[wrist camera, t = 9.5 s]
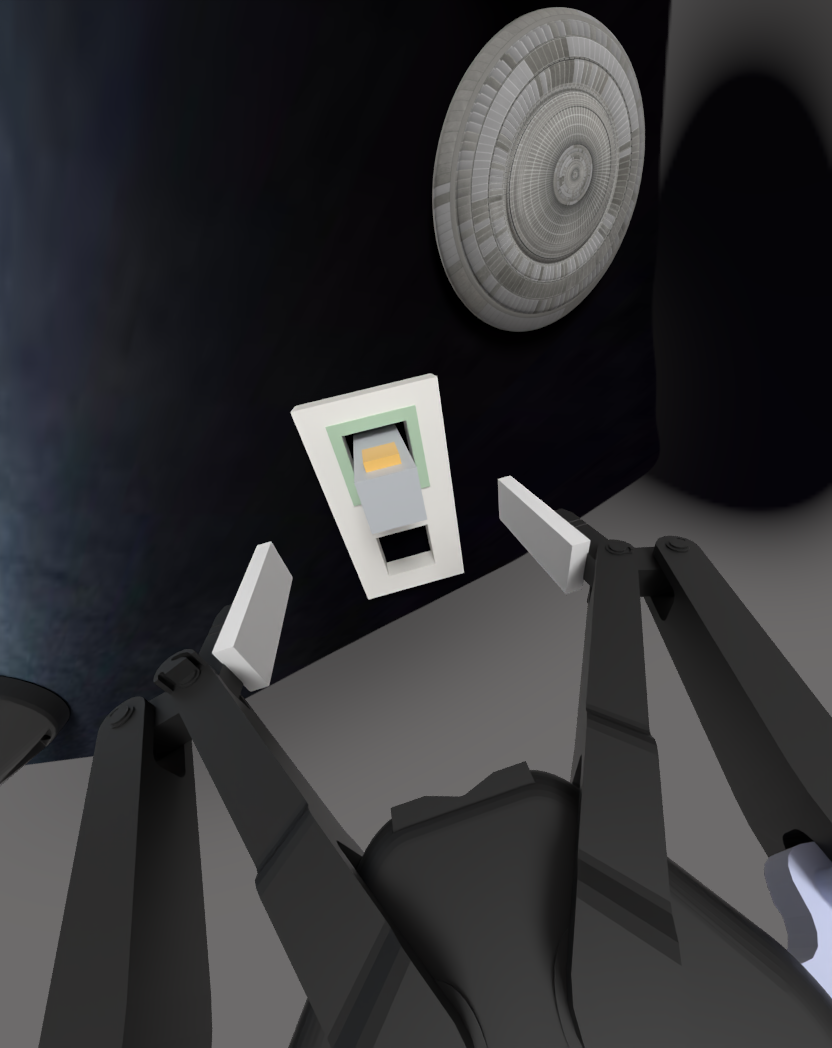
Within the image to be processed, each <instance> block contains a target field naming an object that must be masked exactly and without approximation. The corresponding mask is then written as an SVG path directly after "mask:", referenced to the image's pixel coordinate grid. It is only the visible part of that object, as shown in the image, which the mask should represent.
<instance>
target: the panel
mask: <svg viewBox="0 0 832 1048" xmlns="http://www.w3.org/2000/svg"><path fill="white" fill-rule="evenodd" d="M291 415H292V417H293V420H294V422H295V424H296V427H297V429H298V432H299V434H300V436H301V439H302V441H303V444H304V446H305V449H306V451H307V453H308V456H309V458H310V461H311V463H312V465H313V468H314V470H315V473H316V475H317V477H318V480H319V482H320V485H321V487H322V489H323V492H324V494H325V497H326V499H327V501H328V504H329V506H330V509H331V511H332V513H333V516H334V518H335V521H336V523H337V525H338V528H339V530H340V533H341V535H342V537H343V540H344V542H345V545H346V547H347V549H348V552H349V554H350V557H351V559H352V561H353V564H354V566H355V569H356V571H357V573H358V576H359V578H360V581H361V583H362V585H363V588H364V590H365V593H366V595H367V597H368V600H369V599H372V598H376V597H379V596H383V595H386V594H390V593H394V592H397V591H401V590H404V589H408V588H411V587H415V586H419V585H422V584H426V583H429V582H433V581H436V580H440V579H444V578H447V577H451V576H454V575H458V574H461V573H464V569H463V561H462V554H461V547H460V540H459V532H458V525H457V518H456V510H455V503H454V496H453V488H452V481H451V474H450V467H449V459H448V452H447V445H446V437H445V430H444V423H443V415H442V408H441V401H440V394H439V386H438V379H437V376H435V375H433V374H426V375H422V376H418V377H413V378H409V379H405V380H401V381H397V382H393V383H389V384H385V385H380V386H376V387H372V388H368V389H364V390H360V391H356V392H352V393H347V394H343V395H339V396H335V397H331V398H327V399H323V400H319V401H314V402H310V403H306V404H302V405H298V406H295V407H294V408H293V410H292V411H291ZM402 421H403V423H404V427H405V432H406V437H407V442H408V446H409V451H410V455H411V457H412V459H413V461H414V463H415V465H416V467H417V471H418V476H419V481H420V486H421V491H422V496H423V501H424V506H425V510H426V515H427V520H424V521H420V522H416V523H413V524H409V525H405V526H401V527H398V528H394V529H390V530H386V531H383V532H379V533H375V534H372V533H371V530H370V527H369V525H368V522H367V519H366V516H365V513H364V510H363V507H362V504H361V501H360V498H359V495H358V493H357V490H356V487H355V484H354V462H353V459H352V456H351V453H350V450H349V447H348V444H347V441H346V438H345V436H346V435H350V434H354V433H358V432H362V431H366V430H370V429H374V428H378V427H382V426H386V425H390V424H394V423H398V422H402ZM424 525H425V526H426V531H427V536H428V541H429V545H430V550H431V551H427V552H424V553H420V554H416V555H413V556H409V557H405V558H402V559H398V560H394V561H391V562H386V559H385V556H384V553H383V550H382V547H381V544H380V541H379V537H383V536H386V535H390V534H394V533H398V532H401V531H405V530H409V529H412V528H416V527H420V526H424Z"/></svg>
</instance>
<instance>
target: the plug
mask: <svg viewBox="0 0 832 1048" xmlns="http://www.w3.org/2000/svg"><path fill="white" fill-rule="evenodd" d="M353 448H354V484H355V487H356V490H357V493H358V495H359V498H360V501H361V504H362V507H363V510H364V513H365V516H366V519H367V522H368V525H369V527H370V530H371V533H372V534H375V533H379V532H383V531H386V530H390V529H394V528H398V527H401V526H405V525H409V524H413V523H416V522H420V521H424V520H427V515H426V510H425V506H424V501H423V496H422V491H421V486H420V481H419V476H418V471H417V467H416V465H415V463H414V461H413V459H412V457H411V455H410V453H409V451H408V449H407V447H406V445H405V443H404V441H403V439H402V437H401V436H400V434H399V432H398V430H397V428H396V426H395V424H394V425H390V426H386V427H382V428H378V429H374V430H370V431H366V432H362V433H358V434H354V435H353Z"/></svg>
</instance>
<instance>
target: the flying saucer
mask: <svg viewBox="0 0 832 1048" xmlns="http://www.w3.org/2000/svg"><path fill="white" fill-rule="evenodd" d="M644 149H645V125H644V113H643V105H642V99H641V94H640V89H639V86H638V82H637V79H636V76H635V73H634V70H633V67H632V65H631V63H630V60H629V58H628V56H627V54H626V53H625V51H624V49H623V47H622V46H621V44H620V43H619V42H618V40H617V39H616V37H615V36H614V35H613V34H612V33H611V32H610V31H609V30H608V29H607V28H606V27H605V26H604V25H603V24H602V23H601V22H599V21H598V20H597V19H595V18H593V17H592V16H590V15H588V14H586V13H584V12H582V11H579V10H575V9H571V8H562V7H554V8H545V9H539V10H536V11H533V12H530V13H527V14H525V15H523V16H521V17H519V18H517V19H516V20H514V21H512V22H511V23H509V24H508V25H506V26H505V27H504V28H503V29H501V30H500V31H499V32H498V33H497V34H496V35H495V36H494V37H493V38H492V39H491V40H490V41H489V42H488V43H487V44H486V45H485V46H484V47H483V49H482V50H481V51H480V52H479V54H478V55H477V56H476V58H475V59H474V61H473V62H472V64H471V65H470V66H469V68H468V70H467V71H466V73H465V75H464V76H463V78H462V80H461V82H460V84H459V86H458V88H457V90H456V92H455V94H454V97H453V99H452V101H451V104H450V106H449V109H448V112H447V115H446V118H445V121H444V124H443V127H442V131H441V135H440V139H439V143H438V148H437V153H436V159H435V166H434V175H433V190H432V205H433V221H434V230H435V236H436V242H437V246H438V251H439V254H440V258H441V261H442V264H443V267H444V270H445V272H446V275H447V277H448V279H449V281H450V283H451V285H452V287H453V289H454V290H455V292H456V294H457V295H458V297H459V298H460V299H461V301H462V302H463V303H464V305H465V306H466V307H467V308H468V309H469V310H470V311H471V312H472V313H473V314H474V315H475V316H477V317H478V318H479V319H481V320H482V321H484V322H485V323H487V324H489V325H491V326H493V327H496V328H499V329H502V330H506V331H514V332H523V331H531V330H535V329H539V328H542V327H545V326H547V325H550V324H552V323H554V322H555V321H557V320H559V319H561V318H562V317H564V316H565V315H567V314H568V313H569V312H570V311H572V310H573V309H574V308H575V307H576V306H578V305H579V304H580V303H581V302H582V301H583V300H584V299H585V298H586V297H587V295H588V294H589V293H590V292H591V291H592V290H593V288H594V287H595V286H596V285H597V283H598V282H599V281H600V279H601V278H602V276H603V275H604V273H605V272H606V270H607V269H608V267H609V265H610V264H611V262H612V260H613V259H614V257H615V255H616V253H617V251H618V249H619V247H620V245H621V243H622V240H623V238H624V236H625V233H626V231H627V228H628V226H629V223H630V220H631V217H632V214H633V211H634V208H635V204H636V200H637V196H638V192H639V187H640V182H641V176H642V170H643V162H644Z"/></svg>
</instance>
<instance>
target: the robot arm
mask: <svg viewBox="0 0 832 1048" xmlns="http://www.w3.org/2000/svg"><path fill="white" fill-rule="evenodd" d="M498 495H499V519H500V520H501V521H502V522H503V523H504V524H505V525H506V527H507V528H508V529H509V530H510V531H511V532H512V533H513V534H514V536H515V537H516V538H517V539H518V540H519V541H520V542H521V544H522V545H523V546H524V547H525V548H526V549H527V550H528V552H529V553H530V554H531V555H532V556H533V557H534V558H535V560H536V561H537V562H538V563H539V564H540V565H541V566H542V568H543V569H544V570H545V571H546V572H547V573H548V574H549V576H550V577H551V578H552V579H553V580H554V581H555V582H556V584H557V585H558V586H559V587H560V588H561V589H562V590H563V591H564V593H565V594H568V593H571V592H574V591H577V590H581V589H582V586H583V580H585V581H586V582H587V583H588V584H589V585H590V589H589V594H588V599H587V603H588V608H587V609H588V610H587V620H586V630H585V641H584V652H583V663H582V674H581V685H580V697H579V707H578V718H577V728H576V740H575V750H574V756H573V763H572V770H571V780H570V782H568V781H566V780H565V779H562V778H560V777H558V776H556V775H554V774H550V773H547V772H543V771H538V770H529V768H528V765H527V763H526V761H525V762H522V763H519V764H516V765H514V766H511V767H507V768H505V769H502V770H499V771H496V772H493V773H492V774H491V775H490V776H488V777H487V778H486V779H485V780H483V781H482V782H481V783H479V784H478V785H477V786H476V787H474V788H473V789H472V790H470V791H469V792H468V793H467V794H466V795H463V796H460V797H449V796H445V797H444V796H424V797H421V798H418V799H415V800H412V801H410V802H407V803H404V804H401V805H398V806H395V807H392V808H391V815H392V819H391V820H389V821H388V822H387V823H386V824H385V825H384V826H383V827H382V828H381V829H380V830H379V831H378V833H377V834H376V835H375V836H374V838H373V839H372V841H371V842H370V844H369V845H368V847H367V849H366V850H365V852H363V851H362V850H361V848H360V847H359V846H358V845H357V844H356V842H355V841H354V840H353V839H352V838H351V837H350V836H349V835H348V834H347V833H346V832H345V831H344V829H343V828H342V827H341V825H340V824H339V823H338V822H337V820H336V819H335V817H334V816H333V815H332V814H331V812H330V811H329V810H328V808H327V807H326V806H325V804H324V803H323V802H322V800H321V799H320V798H319V796H318V795H317V794H316V792H315V791H314V790H313V788H312V787H311V786H310V785H309V783H308V782H307V780H306V779H305V778H304V777H303V775H302V774H301V773H300V771H299V770H298V769H297V767H296V766H295V765H294V763H293V762H292V761H291V759H290V758H289V757H288V755H287V754H286V753H285V751H284V750H283V749H282V748H281V746H280V745H279V743H278V742H277V741H276V740H275V738H274V737H273V736H272V734H271V733H270V732H269V730H268V729H267V728H266V726H265V725H264V724H263V722H262V721H261V720H260V719H259V717H258V716H257V714H256V713H255V712H254V710H253V709H252V708H251V706H250V705H249V704H248V702H247V701H246V700H245V699H244V697H243V696H242V695H240V693H241V689H242V686H243V685H244V686H245V687H246V688H247V689H248V690H249V691H250V692H251V691H254V690H257V689H260V688H264V687H267V686H269V684H270V679H271V675H272V670H273V665H274V661H275V656H276V652H277V647H278V642H279V638H280V633H281V629H282V624H283V619H284V615H285V610H286V605H287V601H288V596H289V592H290V587H291V582H292V578H293V577H292V576H291V574H290V572H289V571H288V569H287V567H286V566H285V564H284V562H283V560H282V559H281V557H280V555H279V554H278V552H277V550H276V549H275V547H274V545H273V544H272V542H268V543H264V544H261V545H257V547H256V550H255V552H254V554H253V557H252V559H251V561H250V564H249V566H248V568H247V571H246V573H245V576H244V578H243V580H242V583H241V585H240V587H239V590H238V592H237V594H236V597H235V599H234V602H233V604H231V605H228V606H225V607H224V608H223V609H222V610H221V611H220V613H219V614H218V615H217V616H216V618H215V620H214V622H213V625H212V628H211V629H210V631H209V633H208V636H207V637H206V640H205V642H204V644H203V646H202V648H201V650H200V653H199V655H198V654H197V653H196V652H195V651H194V650H192V649H185V650H183V651H180V652H177V653H176V654H174V655H173V656H171V657H170V658H168V659H167V660H166V661H165V662H164V663H163V664H162V665H161V666H160V667H159V669H158V670H157V671H156V674H155V676H154V683H155V684H156V685H158V686H159V687H160V688H162V689H163V690H164V691H166V692H165V693H163V694H161V695H159V696H157V697H156V698H154V699H152V700H150V701H147V700H146V699H144V698H142V697H133V698H131V699H129V700H127V701H125V702H123V703H122V704H120V705H119V706H118V707H116V708H115V709H114V710H113V711H112V712H111V713H110V714H109V715H108V716H107V717H106V719H105V720H104V721H103V723H102V724H101V726H100V729H99V731H98V736H97V741H96V746H95V752H94V757H93V762H92V767H91V773H90V778H89V783H88V789H87V794H86V799H85V805H84V810H83V815H82V821H81V826H80V831H79V836H78V842H77V847H76V852H75V858H74V862H73V868H72V873H71V879H70V884H69V889H68V894H67V900H66V905H65V910H64V916H63V921H62V926H61V931H60V937H59V942H58V948H57V952H56V958H55V963H54V968H53V973H52V979H51V985H50V990H49V995H48V1000H47V1005H46V1011H45V1016H44V1021H43V1026H42V1032H41V1037H40V1043H39V1048H211V1045H212V1013H211V990H210V976H209V963H208V950H207V937H206V924H205V910H204V897H203V884H202V871H201V858H200V845H199V832H198V819H197V806H196V793H195V779H194V766H193V754H192V740H193V742H194V744H195V746H196V748H197V750H198V752H199V754H200V756H201V758H202V760H203V762H204V764H205V766H206V768H207V770H208V771H209V774H210V776H211V778H212V780H213V782H214V784H215V786H216V788H217V789H218V792H219V794H220V796H221V798H222V800H223V801H224V804H225V806H226V808H227V810H228V812H229V814H230V816H231V818H232V820H233V821H234V824H235V825H236V828H237V830H238V832H239V834H240V836H241V837H242V840H243V842H244V843H245V846H246V848H247V850H248V852H249V854H250V856H251V858H252V860H253V862H254V863H255V866H256V868H257V873H258V874H257V876H256V879H255V883H256V889H257V891H258V894H259V896H260V899H261V901H262V903H263V905H264V907H265V909H266V911H267V913H268V915H269V918H270V920H271V922H272V924H273V926H274V928H275V930H276V932H277V934H278V936H279V939H280V941H281V943H282V945H283V947H284V949H285V951H286V953H287V955H288V958H289V960H290V961H291V964H292V966H293V968H294V970H295V972H296V974H297V976H298V978H299V981H300V983H301V985H302V987H303V989H304V991H305V993H306V995H307V997H308V998H307V1000H306V1003H305V1006H304V1008H303V1011H302V1013H301V1016H300V1019H299V1021H298V1024H297V1026H296V1029H295V1032H294V1034H293V1037H292V1039H291V1043H290V1045H289V1047H288V1048H832V717H831V716H830V715H829V713H828V712H827V711H826V710H825V708H824V707H823V706H822V704H821V703H820V702H819V701H818V699H817V698H816V697H815V695H814V694H813V693H812V692H811V690H810V689H809V688H808V686H807V685H806V684H805V683H804V681H803V680H802V679H801V678H800V676H799V675H798V673H797V672H796V671H795V670H794V668H793V667H792V666H791V664H790V663H789V662H788V661H787V659H786V658H785V657H784V656H783V654H782V653H781V652H780V650H779V649H778V648H777V646H776V645H775V644H774V643H773V641H772V640H771V639H770V637H769V636H768V635H767V634H766V632H765V631H764V630H763V628H762V627H761V626H760V625H759V623H758V622H757V621H756V619H755V618H754V617H753V615H752V614H751V613H750V612H749V610H748V609H747V608H746V607H745V605H744V604H743V603H742V601H741V600H740V599H739V598H738V596H737V595H736V594H735V592H734V591H733V590H732V588H731V587H730V586H729V585H728V583H727V582H726V581H725V579H724V578H723V577H722V576H721V574H720V573H719V572H718V570H717V569H716V568H715V567H714V565H713V564H712V563H711V561H710V560H709V559H708V558H707V556H706V555H705V554H704V552H703V551H702V550H701V548H700V547H699V546H698V545H697V544H695V543H694V542H692V541H690V540H688V539H686V538H682V537H678V536H664V537H661V538H659V539H658V540H657V542H656V544H655V547H642V548H634V547H633V546H632V545H631V544H629V543H626V542H624V541H620V540H608V539H606V538H605V537H604V536H603V535H601V534H600V533H599V532H597V531H596V530H595V529H593V528H592V527H591V526H589V525H588V524H586V523H585V522H584V521H583V520H580V518H579V517H577V516H576V515H575V514H573V513H572V512H569V511H567V510H564V509H559V510H556V511H554V510H552V509H551V508H550V507H549V506H547V505H546V504H545V503H544V502H542V501H541V500H540V499H539V498H537V497H536V496H535V495H534V494H532V493H531V492H530V491H529V490H528V489H526V488H525V487H524V486H523V485H521V484H520V483H519V482H518V481H516V480H515V479H514V478H513V477H511V476H507V477H504V478H500V479H498ZM640 597H644V599H645V601H646V603H647V605H648V607H649V610H650V612H651V614H652V616H653V618H654V620H655V623H656V625H657V627H658V629H659V631H660V634H661V636H662V638H663V640H664V642H665V645H666V647H667V649H668V651H669V653H670V656H671V658H672V660H673V662H674V664H675V667H676V669H677V671H678V673H679V675H680V678H681V680H682V682H683V684H684V686H685V689H686V691H687V693H688V695H689V697H690V700H691V702H692V704H693V706H694V708H695V710H696V713H697V715H698V717H699V719H700V722H701V724H702V726H703V728H704V730H705V732H706V735H707V737H708V739H709V741H710V743H711V746H712V748H713V750H714V752H715V754H716V757H717V759H718V761H719V763H720V765H721V768H722V770H723V772H724V774H725V776H726V779H727V781H728V783H729V785H730V787H731V790H732V792H733V794H734V796H735V798H736V800H737V802H738V804H739V806H740V808H741V810H742V812H743V814H744V816H745V818H746V820H747V822H748V824H749V826H750V827H751V829H752V831H753V832H754V834H755V836H756V837H757V839H758V841H759V842H760V844H761V845H762V847H763V849H764V850H765V852H766V854H767V855H768V857H769V858H768V859H767V861H766V863H765V868H764V875H765V879H766V883H767V887H768V889H769V891H770V894H771V897H772V900H773V903H774V905H775V906H776V908H777V909H778V911H779V912H780V913H781V915H782V917H783V919H784V923H785V926H786V930H787V933H788V949H787V950H786V949H785V948H784V947H782V945H780V944H779V943H778V942H777V941H775V939H773V938H772V937H771V936H770V935H768V934H767V933H766V932H764V931H763V930H762V929H761V928H759V927H758V926H757V925H755V924H754V923H753V922H751V921H750V920H749V919H747V918H746V917H745V916H743V915H742V914H741V913H740V912H738V911H737V910H736V909H735V908H733V907H732V906H730V905H729V904H728V903H727V902H725V901H724V900H723V899H722V898H720V897H719V896H717V895H716V894H715V893H714V892H712V891H711V890H710V889H709V888H707V887H706V886H705V885H703V884H702V883H701V882H699V881H698V880H697V879H695V878H694V877H693V876H691V875H690V874H689V873H688V872H686V871H685V870H684V869H683V868H681V867H680V866H679V865H677V864H676V863H675V862H673V861H672V860H671V859H669V858H668V857H667V853H666V842H665V831H664V830H665V829H664V817H663V806H662V794H661V782H660V771H659V759H658V750H657V745H656V741H655V739H654V738H653V737H652V736H651V734H650V731H649V719H648V705H647V690H646V676H645V663H644V647H643V633H642V619H641V604H640ZM69 716H70V711H69V708H68V706H67V705H66V703H65V702H64V701H63V700H62V699H61V698H59V697H58V696H57V695H55V694H53V693H52V692H50V691H48V690H46V689H44V688H41V687H39V686H36V685H34V684H31V683H28V682H24V681H21V680H17V679H12V678H7V677H2V676H0V786H1V785H2V784H3V783H4V782H5V781H6V780H8V779H9V778H10V777H11V776H12V775H14V773H16V772H17V771H18V770H19V769H20V768H22V767H23V766H24V765H25V764H26V763H27V762H29V761H30V760H31V759H32V758H33V757H34V756H36V755H37V754H38V753H39V752H40V751H41V750H43V749H44V748H45V747H46V746H47V745H48V744H49V743H50V742H52V740H53V739H54V738H55V737H56V736H57V735H58V733H59V732H60V730H61V729H62V728H63V726H64V725H65V724H66V722H67V721H68V719H69Z"/></svg>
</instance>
